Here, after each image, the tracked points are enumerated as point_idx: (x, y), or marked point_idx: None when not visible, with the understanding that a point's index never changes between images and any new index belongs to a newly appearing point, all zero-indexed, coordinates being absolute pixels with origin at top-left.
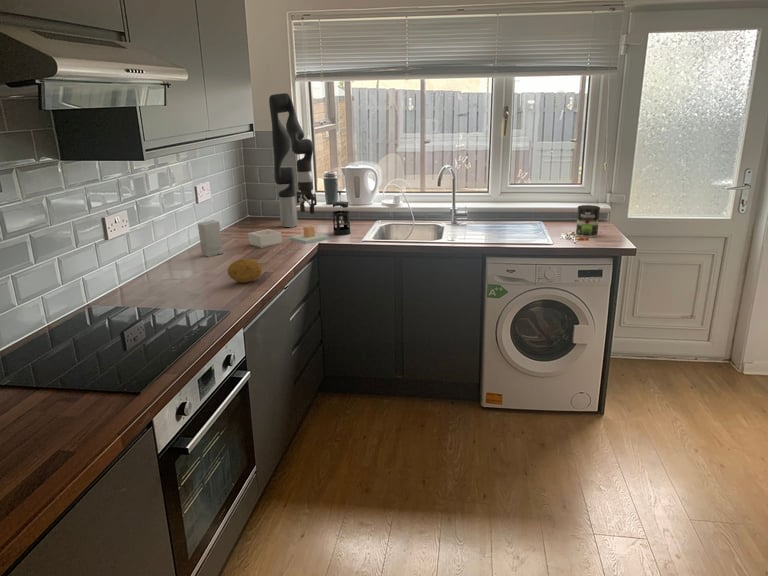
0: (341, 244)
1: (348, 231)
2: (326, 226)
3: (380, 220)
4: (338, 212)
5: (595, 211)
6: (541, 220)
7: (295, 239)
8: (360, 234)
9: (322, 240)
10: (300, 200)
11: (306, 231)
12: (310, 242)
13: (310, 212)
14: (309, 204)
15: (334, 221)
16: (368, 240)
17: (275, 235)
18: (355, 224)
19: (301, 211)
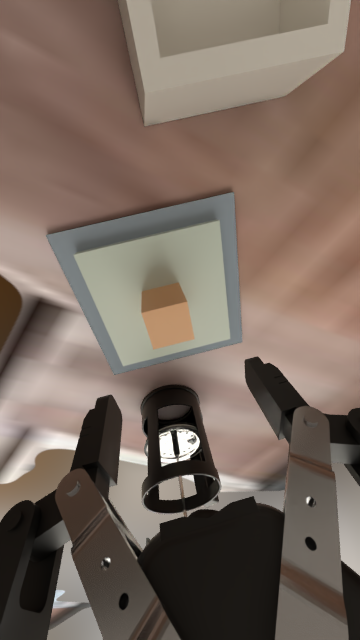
0: (4, 370)
1: (145, 428)
2: (308, 396)
3: (254, 488)
4: (216, 482)
5: None
6: (77, 606)
7: (170, 230)
8: (137, 440)
9: (95, 331)
10: (298, 478)
11: (154, 299)
12: (79, 276)
13: (97, 405)
14: (81, 495)
15: (203, 433)
16: (38, 442)
17: (126, 9)
18: (263, 451)
19: (247, 362)
